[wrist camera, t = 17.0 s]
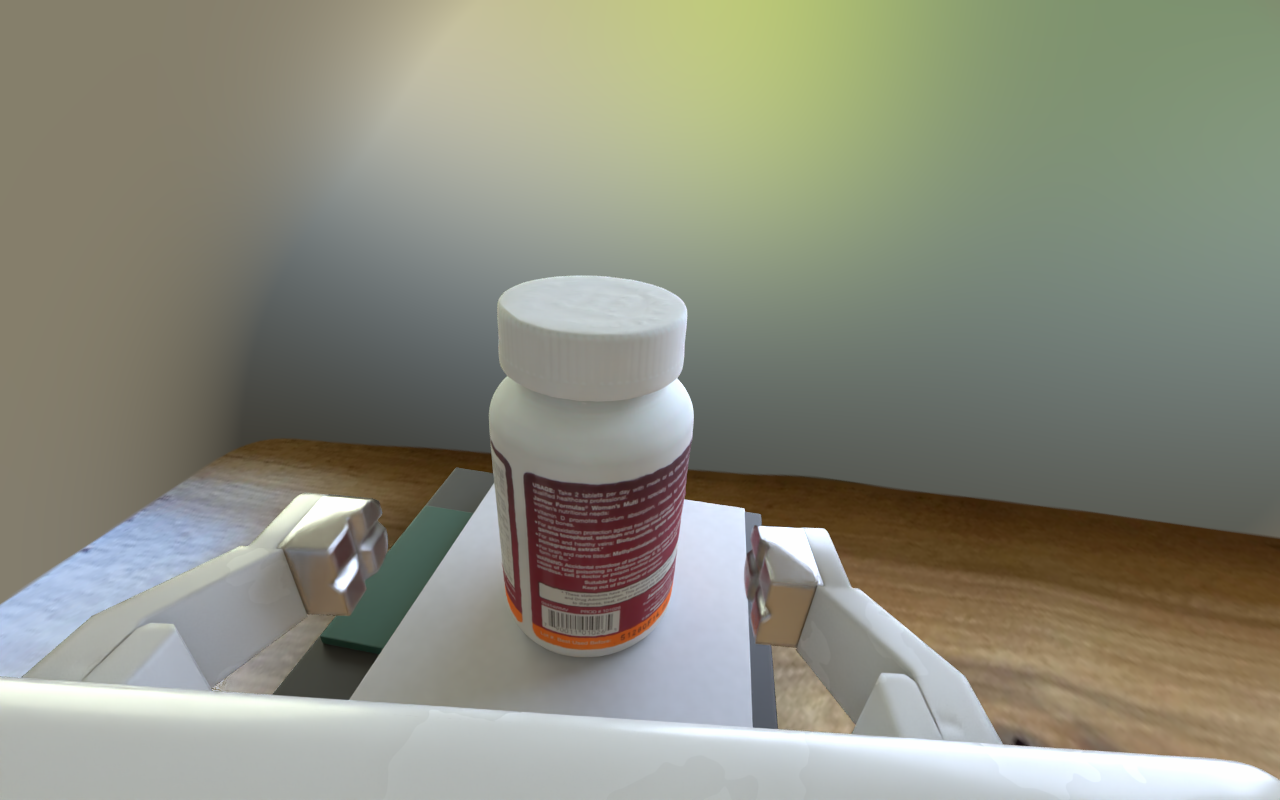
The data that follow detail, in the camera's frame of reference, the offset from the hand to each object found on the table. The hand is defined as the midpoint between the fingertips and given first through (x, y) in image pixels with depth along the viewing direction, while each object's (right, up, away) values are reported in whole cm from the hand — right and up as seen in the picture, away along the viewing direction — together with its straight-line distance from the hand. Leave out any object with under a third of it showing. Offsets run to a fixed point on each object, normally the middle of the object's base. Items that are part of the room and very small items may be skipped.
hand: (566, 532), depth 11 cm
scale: (-2, -7, +10) cm, 12 cm away
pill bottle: (0, -4, +8) cm, 9 cm away
